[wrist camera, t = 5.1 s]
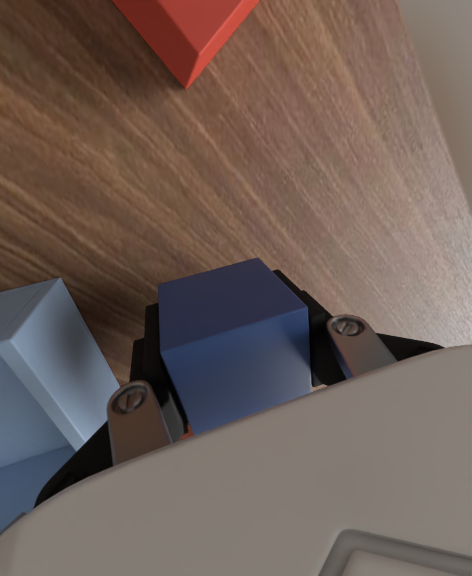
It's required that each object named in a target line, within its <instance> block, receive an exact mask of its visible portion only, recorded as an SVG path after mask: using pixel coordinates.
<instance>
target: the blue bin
mask: <svg viewBox="0 0 472 576" xmlns="http://www.w3.org/2000/svg"><path fill="white" fill-rule="evenodd" d="M119 388H120V386H119V384H118V382H117V380H116V378H115V376H114V375H113V373H112V371H111V369H110V367H109V365H108V364H107V362H106V360H105V358H104V356H103V354H102V353H101V351H100V349H99V347H98V345H97V343H96V342H95V340H94V338H93V336H92V334H91V332H90V331H89V329H88V327H87V325H86V323H85V321H84V320H83V318H82V316H81V314H80V312H79V310H78V309H77V307H76V305H75V303H74V301H73V299H72V298H71V296H70V294H69V292H68V290H67V288H66V287H65V285H64V283H63V281H62V279H61V278H55V279H51V280H47V281H43V282H39V283H35V284H31V285H27V286H23V287H19V288H15V289H11V290H6V291H2V292H0V531H2V530H3V529H4V528H5V527H6V526H7V525H8V524H9V523H10V522H12V521H13V520H14V519H15V518H16V517H17V516H18V515H19V514H21V513H22V512H23V511H24V512H25V513H26V514H27V513H28V512H30V511H31V510H32V509H33V508H34V505H35V502H36V499H37V497H38V495H39V493H40V491H41V490H42V488H43V487H44V486H45V484H46V483H47V482H48V481H49V480H50V478H51V477H52V476H53V475H54V474H55V473H56V472H57V471H58V470H59V469H60V468H61V467H62V466H63V465H64V464H65V463H66V462H67V461H68V460H69V459H70V458H71V457H72V456H73V455H74V454H75V453H76V452H77V451H78V450H79V449H80V448H81V447H82V446H83V445H84V444H85V442H86V441H87V440H88V439H89V438H90V437H91V436H92V435H93V434H94V433H95V432H96V431H97V430H98V429H99V428H100V427H101V426H102V425H103V424H104V423H105V422H106V421H107V420H108V419H107V411H106V409H107V403H108V401H109V399H110V397H111V396H112V395H113V393H114V392H115V391H117V390H118V389H119Z"/></svg>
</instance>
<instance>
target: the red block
mask: <svg viewBox="0 0 472 576" xmlns="http://www.w3.org/2000/svg"><path fill="white" fill-rule="evenodd" d="M112 1H113V3H114V4H115V5H116V6H117V7H118V9H119V10H120V11H121V12H122V13H123V15H124V16H125V17H126V18H127V19H128V21H129V22H130V23H131V24H132V25H133V27H134V28H135V29H136V30H137V31H138V33H139V34H140V35H141V36H142V37H143V39H144V40H145V41H146V42H147V43H148V45H149V46H150V47H151V48H152V49H153V51H154V52H155V53H156V54H157V55H158V57H159V58H160V59H161V60H162V61H163V63H164V64H165V65H166V66H167V67H168V69H169V70H170V71H171V72H172V73H173V75H174V76H175V77H176V78H177V79H178V81H179V82H180V83H181V84H182V85H183V87H184V88H185V89H187V88H188V87H189V86H190V85H191V83H192V82H193V81H194V80H195V79H196V77H197V76H198V75H199V74H200V73H201V71H202V70H203V69H204V68H205V66H206V65H207V64H208V63H209V62H210V60H211V59H212V58H213V57H214V56H215V54H216V53H217V52H218V51H219V49H220V48H221V47H222V46H223V45H224V43H225V42H226V41H227V40H228V39H229V37H230V36H231V35H232V34H233V32H234V31H235V30H236V29H237V28H238V26H239V25H240V24H241V23H242V22H243V20H244V19H245V18H246V17H247V15H248V14H249V13H250V12H251V11H252V9H253V8H254V7H255V6H256V5H257V3H258V2H259V1H260V0H112Z"/></svg>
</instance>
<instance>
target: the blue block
mask: <svg viewBox="0 0 472 576" xmlns="http://www.w3.org/2000/svg"><path fill="white" fill-rule="evenodd" d="M158 300H159V331H160V354H161V356H162V359H163V361H164V364H165V366H166V369H167V371H168V374H169V376H170V378H171V381H172V383H173V386H174V388H175V391H176V393H177V396H178V398H179V400H180V403H181V405H182V408H183V410H184V413H185V415H186V418H187V420H188V423H189V425H190V427H191V430H192V432H193V435H196V434H199V433H202V432H205V431H207V430H210V429H213V428H215V427H218V426H221V425H223V424H226V423H229V422H232V421H234V420H237V419H240V418H242V417H245V416H248V415H251V414H253V413H256V412H259V411H262V410H264V409H267V408H270V407H272V406H275V405H278V404H281V403H283V402H286V401H289V400H292V399H294V398H297V397H300V396H303V395H305V394H308V393H311V392H312V387H311V366H310V344H309V323H308V307H307V306H306V305H305V304H304V303H303V302H302V301H301V300H300V299H299V298H298V297H297V296H296V295H295V294H294V293H293V292H292V291H291V290H290V289H289V288H288V287H287V286H286V285H285V284H284V283H283V282H282V281H281V280H280V279H279V278H278V277H277V276H276V275H275V274H274V273H273V272H272V271H271V270H270V269H269V268H268V267H267V266H266V265H265V264H264V263H263V262H262V261H261V260H260V259H259V258H254V259H250V260H247V261H243V262H239V263H236V264H232V265H228V266H225V267H221V268H217V269H214V270H210V271H206V272H202V273H199V274H195V275H191V276H188V277H184V278H180V279H177V280H173V281H169V282H166V283H162V284H159V285H158Z"/></svg>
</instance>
